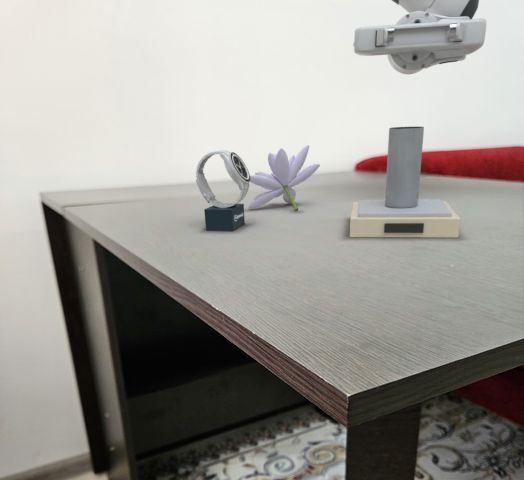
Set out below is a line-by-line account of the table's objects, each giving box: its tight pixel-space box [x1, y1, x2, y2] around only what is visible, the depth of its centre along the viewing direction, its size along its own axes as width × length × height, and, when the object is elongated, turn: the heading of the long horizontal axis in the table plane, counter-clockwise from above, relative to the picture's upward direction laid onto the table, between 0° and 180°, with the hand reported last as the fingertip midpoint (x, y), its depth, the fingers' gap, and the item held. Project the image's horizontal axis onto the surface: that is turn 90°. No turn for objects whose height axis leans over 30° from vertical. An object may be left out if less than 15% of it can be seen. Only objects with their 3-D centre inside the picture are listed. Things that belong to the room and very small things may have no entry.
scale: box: [349, 198, 461, 239], centre depth 75 cm, size 14×14×3 cm
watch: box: [195, 150, 251, 232], centre depth 78 cm, size 6×8×11 cm
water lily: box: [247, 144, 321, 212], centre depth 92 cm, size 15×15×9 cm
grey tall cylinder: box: [384, 126, 425, 208], centre depth 72 cm, size 4×4×10 cm
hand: (421, 32), depth 78 cm, fingers open, 8 cm apart
